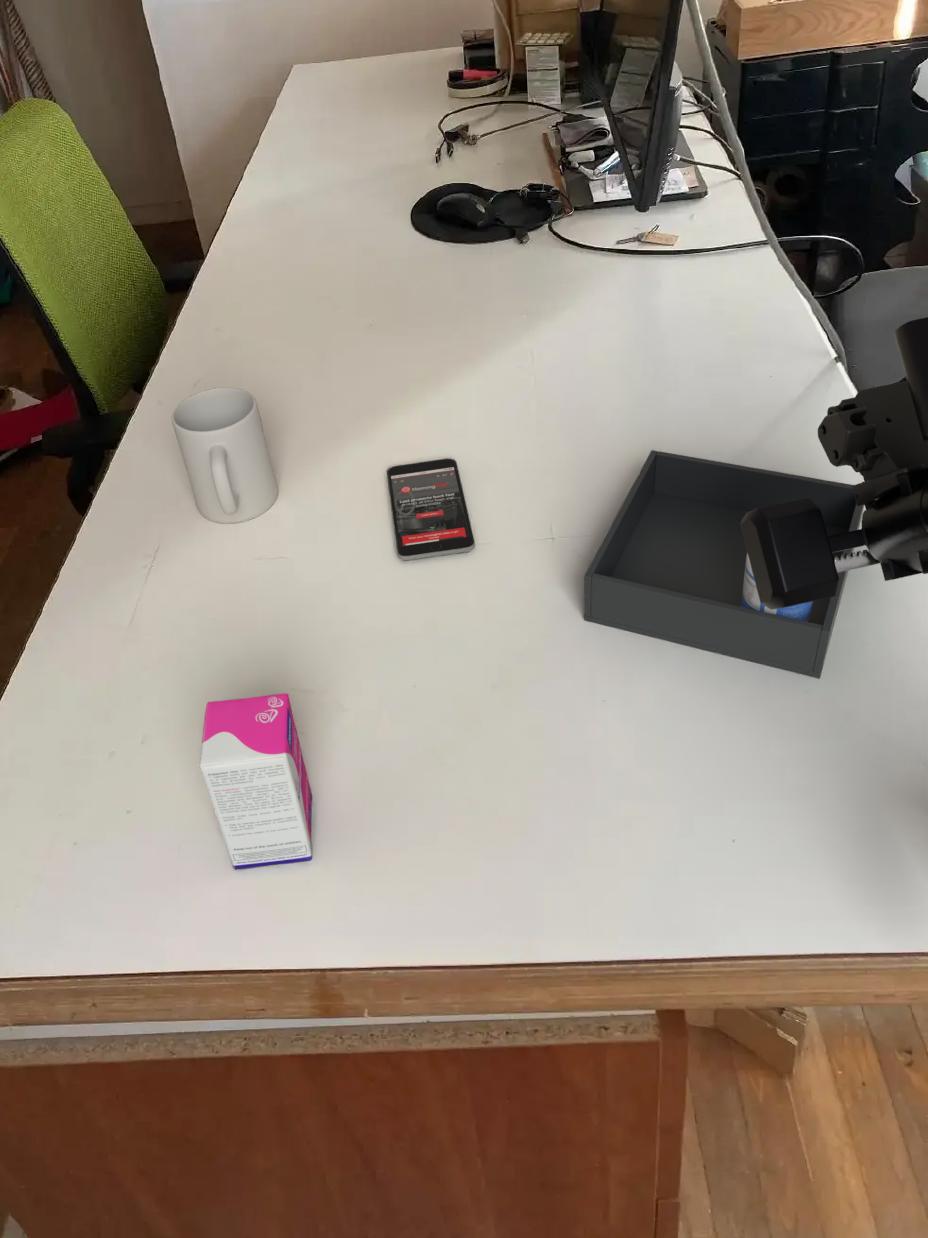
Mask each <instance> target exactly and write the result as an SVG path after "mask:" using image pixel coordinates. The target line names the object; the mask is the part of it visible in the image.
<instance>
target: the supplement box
mask: <svg viewBox="0 0 928 1238" xmlns="http://www.w3.org/2000/svg"><path fill="white" fill-rule="evenodd" d="M295 722H296V721H295V718H294V713H293V709H292V704H291V701H290V696H289V693H288V692H287V693H286V692H285V693H275V694H268V695H260V696H253V697H252V696H251V697H246V698H245V697H243V698H235V699H223V700H214V701H208V702H206V706H205V712H204V719H203V728H202V737H201V746H200V757H199V770H200V773H201V775H202V778H203V780H204V784H205V787H206V789H207V792H208V796H209V798H210V802H211V805H212V808H213V811H214V813H215V816H216V819H217V823H218V825H219V826H218V827H219V829H220V831H221V834H222V837H223V840H224V843H225V846H226V849H227V852H228V855H229V858H230V861H231V865H232V869H233V870H234V871H238V870H239V871H240V870H248V869H254V868H255V869H256V868H263V867H271V866H279V865H288V864H295V863H296V864H297V863H304V862H310V861H312V859H313V845H312V815H313V813H312V811H313V810H312V809H313V795H312V794H313V793H312V789H311V786H310V785H311V784H310V781H309V776H308V772H307V768H306V763H305V759H304V756H303V751H302V747H301V742H300V739H299V734H298V730H297V726H296V723H295Z"/></svg>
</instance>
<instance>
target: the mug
mask: <svg viewBox="0 0 928 1238" xmlns="http://www.w3.org/2000/svg"><path fill="white" fill-rule="evenodd" d="M171 424H172V427H173V431H174V435H175V438H176V441H177V445H178V447H179V451H180V455H181V457H182V460H183V464H184V467H185V470H186V474H187V477H188V480H189V484H190V487H191V490H192V495H193V499H194V502H195V505H196V508H197V510H198V512H199V514H200V515H201V516H202V517H203V518H204V519H207V520H208V521H210V522H212V523H217V524H223V525H225V524H226V525H230V524H233V525H234V524H239V523H244V522H247V521H250V520H253V519H255V518H258V517H260V516H262V515H263V514H264V513H266V512H267V511H268V510H270V509H271V508H272V507H273V506H274V504H275V502H276V500H277V499H278V494H279V487H278V483H277V479H276V475H275V471H274V467H273V464H272V460H271V456H270V452H269V447H268V443H267V439H266V435H265V431H264V427H263V422H262V418H261V413H260V409H259V406H258V402H257V399H256V397H255V396H254V395H253V394H252V393H251V392H249V391H247V390H245V389H243V388H242V389H241V388H238V387H215V388H209V389H206V390H202V391H200V392H196V393H194V394H192V395H190V396H187V398H185V399H183V400H182V401H181V402H180V403H178V404H177V406H176V407H175V408H174V410H173V411H172V414H171Z"/></svg>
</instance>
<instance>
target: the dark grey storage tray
mask: <svg viewBox="0 0 928 1238" xmlns="http://www.w3.org/2000/svg"><path fill="white" fill-rule="evenodd" d="M854 485H855V484H850V483H844V482H839V481H833V480H828V479H822V478H816V477H811V476H804V475H799V474H792V473H787V472H780V471H775V470H770V469H763V468H757V467H751V466H747V465H741V464H734V463H729V462H723V461H717V460H711V459H706V458H700V457H695V456H689V455H683V454H678V453H671V452H665V451H660V450H654V449H652V450H650V453H649V454H648V456H647V458H646V460H645V462H644V463H643V466H642V467H641V469H640V471H639V473H638V475H637V477H636V479H635V480H634V482H633V484H632V485H631V488H630V490H629V492H628V493H627V495H626V497H625V499H624V501H623V503H622V504H621V507H620V508H619V510H618V512H617V514H616V516H615V517H614V520H613V521H612V524H611V525H610V527H609V529H608V531H607V533H606V535H605V536H604V538H603V540H602V542H601V543H600V545H599V547H598V549H597V551H596V553H595V555H594V556H593V559H592V560H591V562H590V564H589V567H587V570H586V572H585V574H584V575H583V577H584V578H583V579H584V581H583V582H584V583H583V584H584V585H583V586H584V587H583V588H584V589H583V591H584V593H583V596H584V597H583V598H584V599H583V600H584V601H583V603H584V605H583V611H584V612H583V621H586V622H589V623H593V624H597V625H602V626H606V627H610V628H613V629H618V630H621V631H625V632H628V633H629V632H630V633H633V634H636V635H637V634H638V635H641V636H646V637H650V638H654V639H656V640H657V639H658V640H661V641H666V642H670V643H674V644H678V645H681V646H686V647H689V648H693V649H694V648H695V649H698V650H702V651H707V652H710V653H714V654H719V655H722V656H727V657H730V658H735V659H738V660H742V661H746V662H750V663H755V664H759V665H763V666H766V667H771V668H774V669H779V670H782V671H787V672H791V673H795V674H799V675H802V676H806V677H807V676H808V677H811V678H816V679H821V676H822V673H823V669H824V665H825V660H826V657H827V655H828V654H827V653H828V649H829V647H830V646H829V645H830V642H831V637H832V634H833V631H834V626H835V623H836V619H837V616H838V611H839V607H840V604H841V601H842V596H843V592H844V588H845V585H846V581H847V577H848V573H849V570H848V571H843V572H839V573H838V577H839V583H838V588H837V593H836V596H834V597H829V598H825V599H821V600H816V601H813V605H812V611H811V616H810V622H806V621H802V620H797V619H793V618H788V617H784V616H780V615H775V614H771V613H766V612H762V611H758V610H753V609H749V608H744V607H741V602H742V593H743V583H744V574H745V564H746V557H747V549H746V545H745V541H744V537H743V533H742V529H741V525H740V523H741V521H742V519H743V518H744V516H745V514H746V513H748V512H750V511H752V510H755V509H757V508H761V507H766V506H770V505H775V504H780V503H784V502H789V501H793V500H798V499H803V498H807V497H810V498H811V499H812V500H813V501H814V502H815V504H816V505H817V506H818V507H819V508H820V509H821V513H822V517H823V521H824V524H825V528H826V532H827V536H832V535H837V534H841V533H846V532H850V531H855V530H859V529H860V527H861V523H862V515H863V512H864V510H865V505H863V506H857V504H856V501H855V497H854V493H853V490H852V486H854ZM853 552H855V548H852V549H847V550H843V551H838V552H834V553H832V555H833V557H835V556H837V557H839V555H843V556H845V554H848V553H849V555H851V553H853Z"/></svg>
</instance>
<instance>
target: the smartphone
mask: <svg viewBox="0 0 928 1238" xmlns="http://www.w3.org/2000/svg"><path fill="white" fill-rule="evenodd" d="M386 477H387V483H388V491H389V497H390V498H389V500H390V507H391V513H392V514H391V515H392V521H393V529H394V530H393V531H394V537H395V545H396V552H397V553H396V554H397V557H398V559H400V560H401V561H415V560H421V559H428V558H434V557H443V556H448V555H453V554H454V555H455V554H463V553H469V552H471V551H473V550H474V549H475V547H476V543H475V539H474V537H475V536H474V533H473V529H472V524H471V519H470V515H469V510H468V507H467V502H466V498H465V492H464V489H463V485H462V481H461V476H460V471H459V467H458V463H457V460H456V459H454V458H452V457H446V458H440V459H433V460H426V461H419V462H413V463H405V464H399V465H392V466H389V467H388V468H387V469H386Z"/></svg>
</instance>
